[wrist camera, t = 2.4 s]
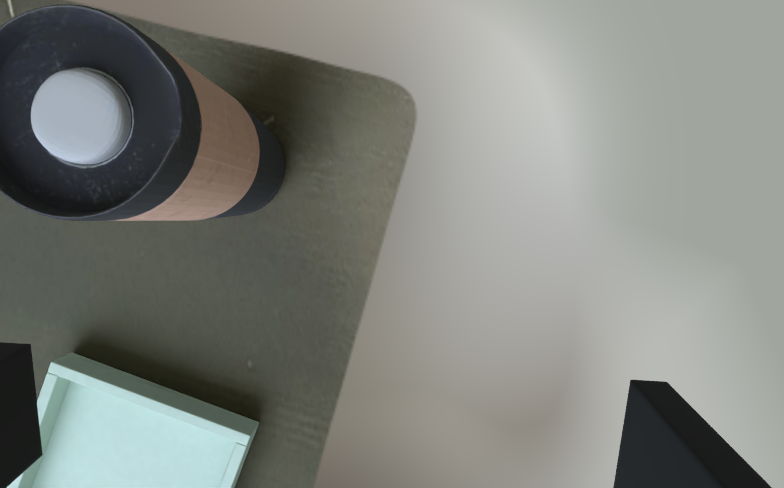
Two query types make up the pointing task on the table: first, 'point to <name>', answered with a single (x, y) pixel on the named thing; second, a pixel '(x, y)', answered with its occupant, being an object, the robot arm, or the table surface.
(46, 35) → the travel mug
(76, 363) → the tray
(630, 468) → the robot arm
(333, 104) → the table surface
